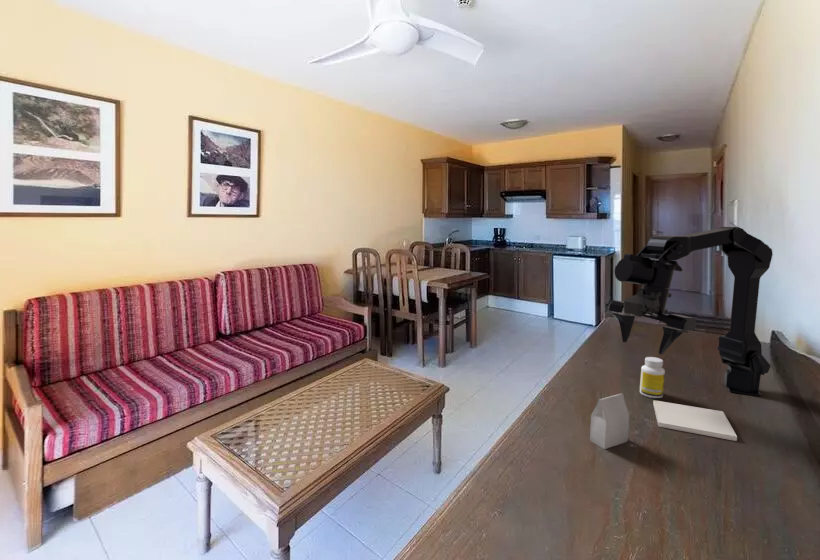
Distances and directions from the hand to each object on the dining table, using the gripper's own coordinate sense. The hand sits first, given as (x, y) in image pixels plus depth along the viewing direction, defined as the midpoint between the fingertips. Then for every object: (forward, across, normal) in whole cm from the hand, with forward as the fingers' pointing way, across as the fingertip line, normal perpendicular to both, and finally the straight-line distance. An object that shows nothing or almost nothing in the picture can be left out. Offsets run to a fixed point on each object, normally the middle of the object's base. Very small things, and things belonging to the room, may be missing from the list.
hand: (641, 347), depth 98 cm
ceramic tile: (+13, +12, +4) cm, 19 cm away
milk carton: (+18, +8, -19) cm, 28 cm away
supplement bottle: (+13, 0, +10) cm, 17 cm away
